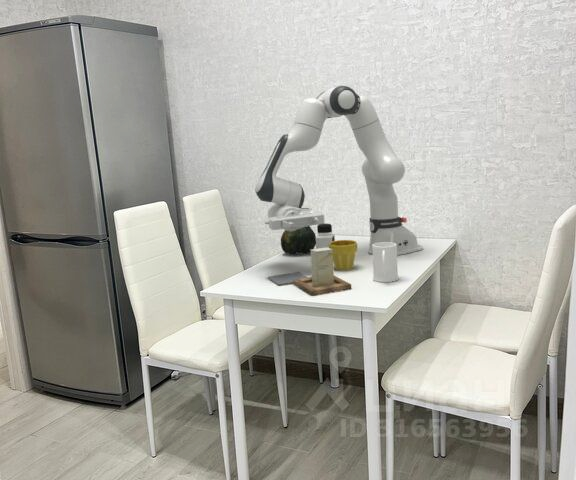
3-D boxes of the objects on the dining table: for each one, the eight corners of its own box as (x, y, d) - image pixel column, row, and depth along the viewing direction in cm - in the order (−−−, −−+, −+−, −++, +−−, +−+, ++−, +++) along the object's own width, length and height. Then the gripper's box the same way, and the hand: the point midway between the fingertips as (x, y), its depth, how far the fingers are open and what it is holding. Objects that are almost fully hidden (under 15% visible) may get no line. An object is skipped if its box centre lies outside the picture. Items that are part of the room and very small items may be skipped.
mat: (298, 273, 210) (298, 271, 210) (311, 280, 199) (311, 279, 199) (267, 278, 206) (267, 276, 206) (278, 286, 195) (278, 284, 195)
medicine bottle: (333, 253, 239) (331, 225, 236) (316, 254, 240) (314, 225, 238) (335, 249, 246) (333, 222, 243) (318, 250, 247) (317, 222, 245)
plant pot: (355, 272, 207) (353, 245, 205) (327, 271, 210) (325, 245, 208) (360, 265, 216) (359, 239, 214) (334, 264, 220) (332, 239, 218)
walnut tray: (330, 278, 201) (330, 273, 200) (351, 289, 186) (351, 284, 186) (293, 284, 196) (293, 279, 196) (311, 296, 181) (311, 291, 181)
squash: (271, 240, 247) (283, 216, 237) (298, 236, 255) (312, 213, 246) (286, 266, 240) (299, 242, 230) (314, 260, 249) (328, 237, 239)
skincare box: (317, 288, 187) (315, 251, 185) (311, 285, 191) (309, 249, 189) (334, 284, 190) (333, 248, 187) (328, 281, 194) (326, 246, 192)
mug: (395, 285, 186) (394, 249, 184) (369, 285, 189) (367, 249, 187) (400, 276, 197) (399, 241, 195) (375, 275, 200) (373, 241, 198)
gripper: (262, 213, 207) (275, 218, 194) (314, 207, 214) (330, 211, 201) (263, 230, 208) (276, 236, 195) (315, 224, 215) (331, 229, 202)
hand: (304, 223), depth 198 cm, fingers open, 8 cm apart
